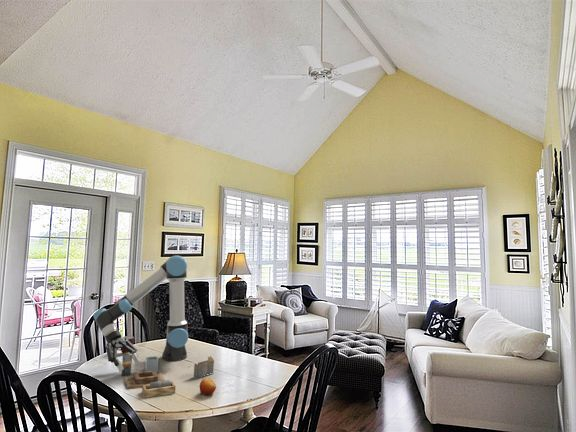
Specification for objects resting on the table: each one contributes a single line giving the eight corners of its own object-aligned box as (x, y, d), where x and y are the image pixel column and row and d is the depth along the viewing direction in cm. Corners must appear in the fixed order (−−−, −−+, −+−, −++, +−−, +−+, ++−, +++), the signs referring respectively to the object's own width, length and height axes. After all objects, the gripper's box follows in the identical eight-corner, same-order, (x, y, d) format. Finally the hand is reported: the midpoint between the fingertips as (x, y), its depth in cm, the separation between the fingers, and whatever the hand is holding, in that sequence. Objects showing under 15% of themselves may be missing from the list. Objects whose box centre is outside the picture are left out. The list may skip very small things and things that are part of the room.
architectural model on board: (209, 373, 201) (210, 355, 202) (213, 374, 199) (214, 356, 200) (193, 377, 192) (194, 359, 193) (196, 379, 191) (197, 360, 191)
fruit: (196, 387, 175) (206, 373, 176) (210, 396, 175) (219, 381, 176) (193, 393, 167) (203, 379, 168) (207, 403, 167) (217, 388, 168)
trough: (172, 387, 177) (172, 377, 177) (175, 393, 170) (175, 381, 171) (142, 392, 170) (143, 380, 170) (144, 397, 164) (144, 386, 164)
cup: (155, 368, 203) (156, 356, 203) (157, 372, 197) (158, 359, 198) (144, 370, 200) (145, 357, 200) (146, 373, 194) (147, 360, 195)
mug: (117, 356, 221) (119, 340, 222) (113, 353, 227) (114, 337, 228) (134, 354, 228) (136, 338, 229) (130, 351, 234) (131, 335, 235)
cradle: (160, 374, 193) (161, 368, 194) (165, 383, 181) (166, 376, 182) (124, 379, 185) (125, 372, 185) (127, 389, 173) (127, 381, 173)
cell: (130, 372, 195) (132, 351, 196) (131, 375, 191) (132, 353, 192) (120, 373, 192) (122, 351, 194) (121, 376, 188) (123, 354, 189)
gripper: (124, 334, 210) (142, 365, 202) (89, 342, 188) (108, 378, 181) (131, 325, 208) (150, 357, 201) (97, 333, 186) (117, 369, 179)
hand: (130, 367), depth 191 cm, fingers open, 11 cm apart
